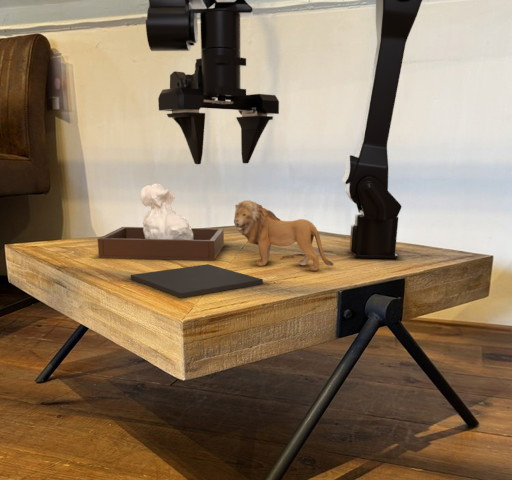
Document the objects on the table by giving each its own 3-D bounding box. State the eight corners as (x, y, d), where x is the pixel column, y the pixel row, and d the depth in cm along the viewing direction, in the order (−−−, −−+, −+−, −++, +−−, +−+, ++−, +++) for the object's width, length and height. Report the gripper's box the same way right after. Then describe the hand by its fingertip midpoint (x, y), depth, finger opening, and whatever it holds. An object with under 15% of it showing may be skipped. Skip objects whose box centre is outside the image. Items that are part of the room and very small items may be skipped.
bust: (147, 256, 98) (106, 205, 91) (177, 226, 100) (138, 174, 93) (184, 268, 89) (141, 212, 82) (216, 235, 91) (176, 177, 84)
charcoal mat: (208, 268, 80) (208, 264, 80) (262, 283, 71) (263, 279, 71) (130, 279, 73) (130, 274, 73) (180, 298, 64) (180, 293, 64)
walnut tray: (223, 245, 99) (223, 228, 98) (214, 260, 86) (214, 241, 85) (123, 243, 99) (122, 226, 98) (98, 257, 87) (97, 238, 86)
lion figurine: (228, 265, 82) (228, 201, 79) (239, 259, 87) (239, 198, 84) (330, 272, 78) (334, 205, 75) (336, 265, 83) (339, 202, 80)
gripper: (236, 62, 94) (237, 161, 99) (135, 50, 83) (142, 163, 88) (282, 55, 86) (280, 163, 91) (178, 40, 75) (182, 165, 80)
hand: (222, 163), depth 88 cm, fingers open, 9 cm apart
